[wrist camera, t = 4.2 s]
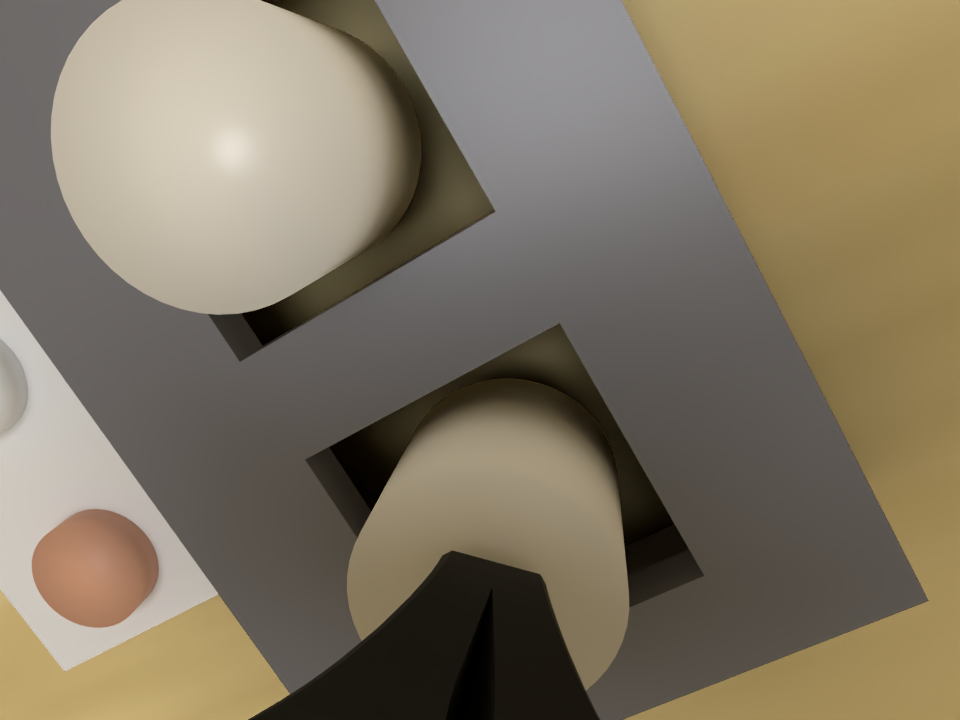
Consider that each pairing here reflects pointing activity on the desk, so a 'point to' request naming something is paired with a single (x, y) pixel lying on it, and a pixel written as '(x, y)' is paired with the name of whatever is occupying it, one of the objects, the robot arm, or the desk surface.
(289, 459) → the grey slotted tray
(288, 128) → the button
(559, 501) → the button
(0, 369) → the pattern card
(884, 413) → the desk surface
